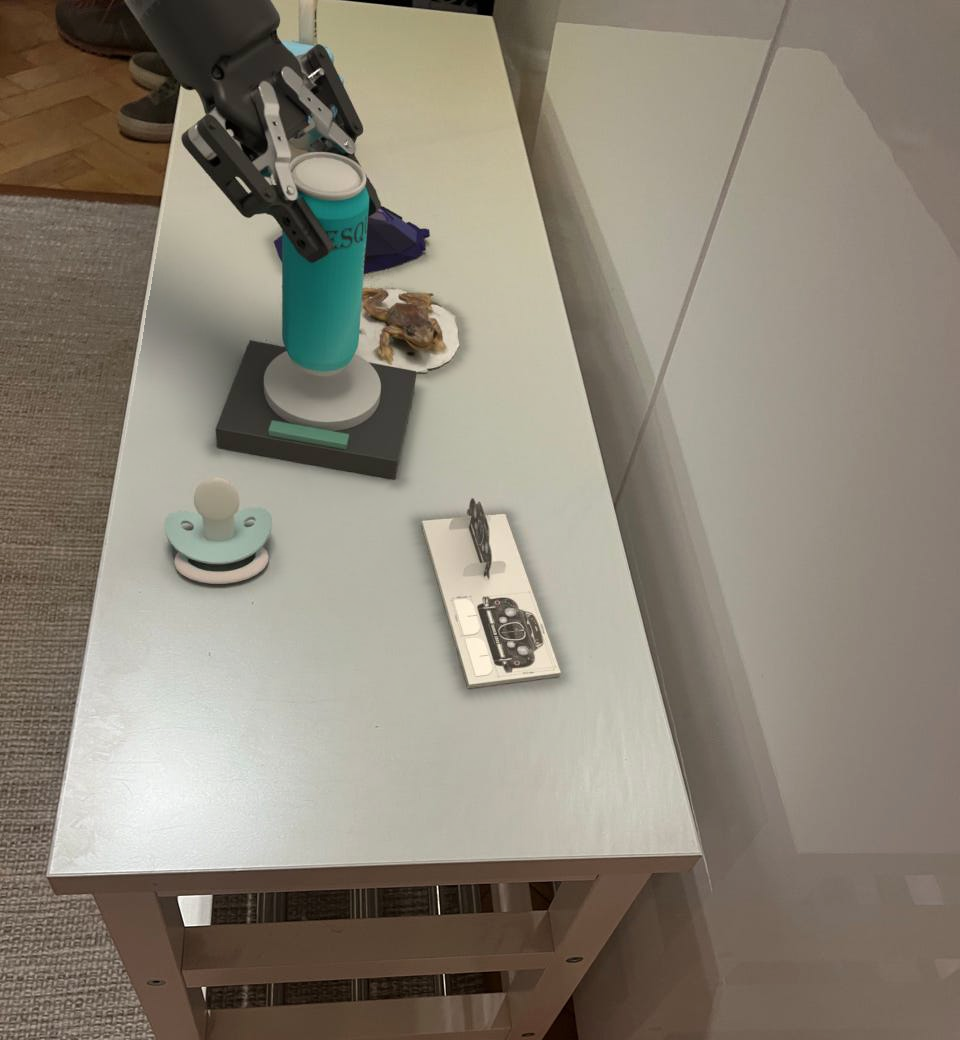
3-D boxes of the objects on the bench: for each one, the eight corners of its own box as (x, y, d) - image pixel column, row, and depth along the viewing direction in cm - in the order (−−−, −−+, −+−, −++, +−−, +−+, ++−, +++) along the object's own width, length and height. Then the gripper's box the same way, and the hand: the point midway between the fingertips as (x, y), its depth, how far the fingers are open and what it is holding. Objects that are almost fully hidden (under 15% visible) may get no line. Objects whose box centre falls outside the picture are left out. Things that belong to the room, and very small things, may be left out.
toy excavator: (360, 112, 110) (370, -66, 96) (331, 190, 100) (337, 4, 86) (283, 96, 110) (282, -85, 96) (246, 173, 100) (239, -17, 86)
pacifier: (277, 585, 70) (269, 520, 73) (276, 527, 65) (268, 461, 68) (169, 592, 68) (166, 525, 71) (159, 534, 63) (156, 465, 66)
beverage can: (371, 367, 77) (388, 185, 65) (309, 391, 74) (314, 205, 62) (329, 325, 79) (338, 141, 67) (267, 347, 76) (264, 159, 64)
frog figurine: (486, 359, 88) (493, 323, 85) (363, 387, 83) (365, 350, 80) (429, 284, 93) (434, 247, 90) (310, 306, 89) (311, 268, 86)
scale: (216, 447, 77) (214, 418, 74) (250, 359, 83) (248, 329, 81) (395, 479, 78) (398, 451, 75) (414, 389, 84) (417, 361, 82)
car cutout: (421, 524, 75) (427, 482, 72) (504, 517, 77) (514, 476, 73) (467, 688, 67) (477, 650, 64) (559, 676, 69) (574, 638, 65)
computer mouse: (264, 223, 95) (263, 184, 92) (410, 212, 100) (414, 174, 97) (290, 281, 90) (290, 242, 87) (442, 267, 95) (447, 229, 92)
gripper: (143, -17, 53) (328, 265, 61) (288, -87, 61) (434, 169, 69) (77, 53, 58) (256, 305, 66) (219, -21, 66) (363, 210, 74)
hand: (347, 234), depth 68 cm, fingers closed on beverage can, 5 cm apart
